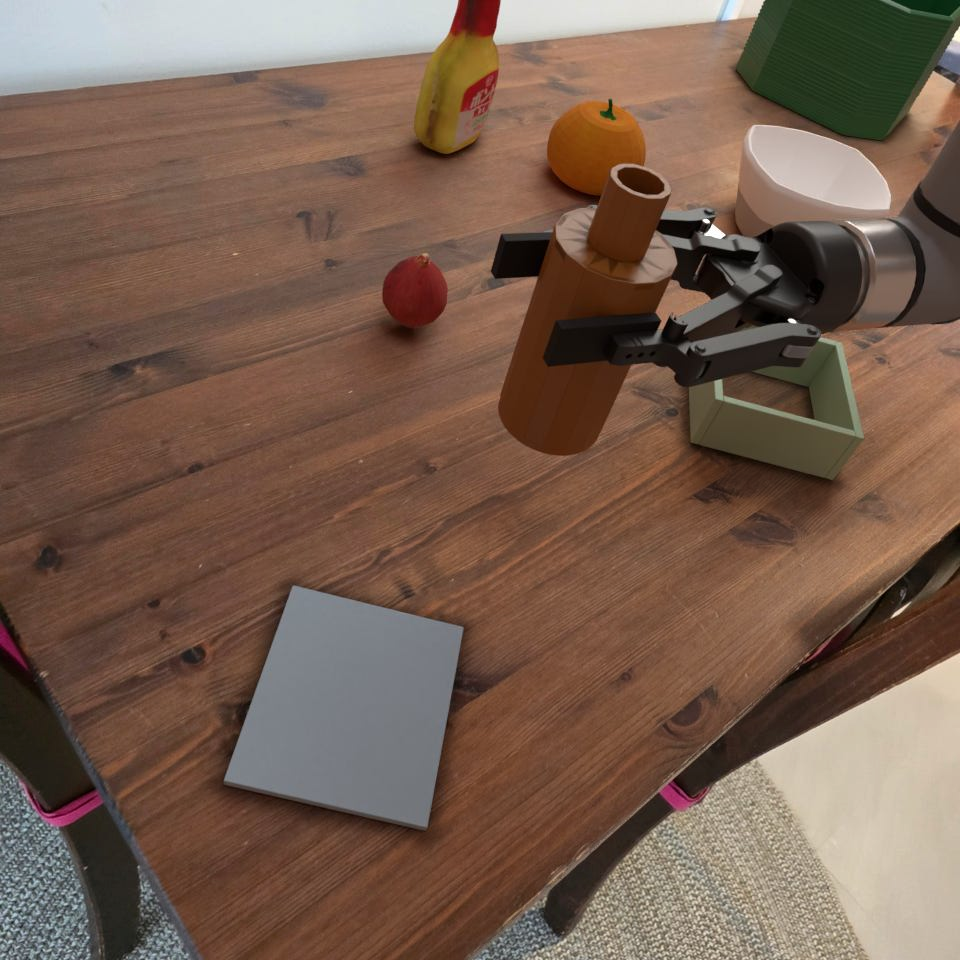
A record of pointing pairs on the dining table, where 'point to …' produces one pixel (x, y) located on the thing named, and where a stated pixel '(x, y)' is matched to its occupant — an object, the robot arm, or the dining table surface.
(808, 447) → the bin
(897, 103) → the planter
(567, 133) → the fruit
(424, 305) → the onion
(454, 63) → the bottle
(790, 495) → the dining table surface
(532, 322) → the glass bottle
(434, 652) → the mat
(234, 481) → the dining table surface
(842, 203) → the bowl
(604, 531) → the dining table surface
